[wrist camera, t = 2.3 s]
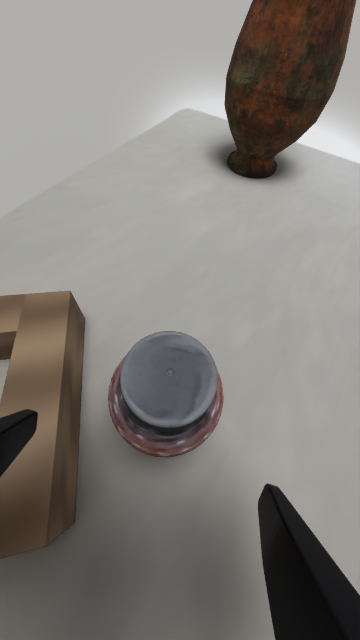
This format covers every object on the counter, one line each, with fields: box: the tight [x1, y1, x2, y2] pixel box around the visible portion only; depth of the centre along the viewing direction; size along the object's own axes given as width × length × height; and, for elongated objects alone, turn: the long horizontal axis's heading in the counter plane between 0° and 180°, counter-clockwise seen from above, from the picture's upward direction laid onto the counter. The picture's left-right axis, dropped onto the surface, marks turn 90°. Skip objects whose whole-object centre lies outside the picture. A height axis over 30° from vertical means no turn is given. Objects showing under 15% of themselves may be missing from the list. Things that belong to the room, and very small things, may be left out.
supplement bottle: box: [108, 331, 223, 457], centre depth 14 cm, size 6×6×11 cm
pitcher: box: [225, 0, 356, 178], centre depth 33 cm, size 17×21×30 cm
